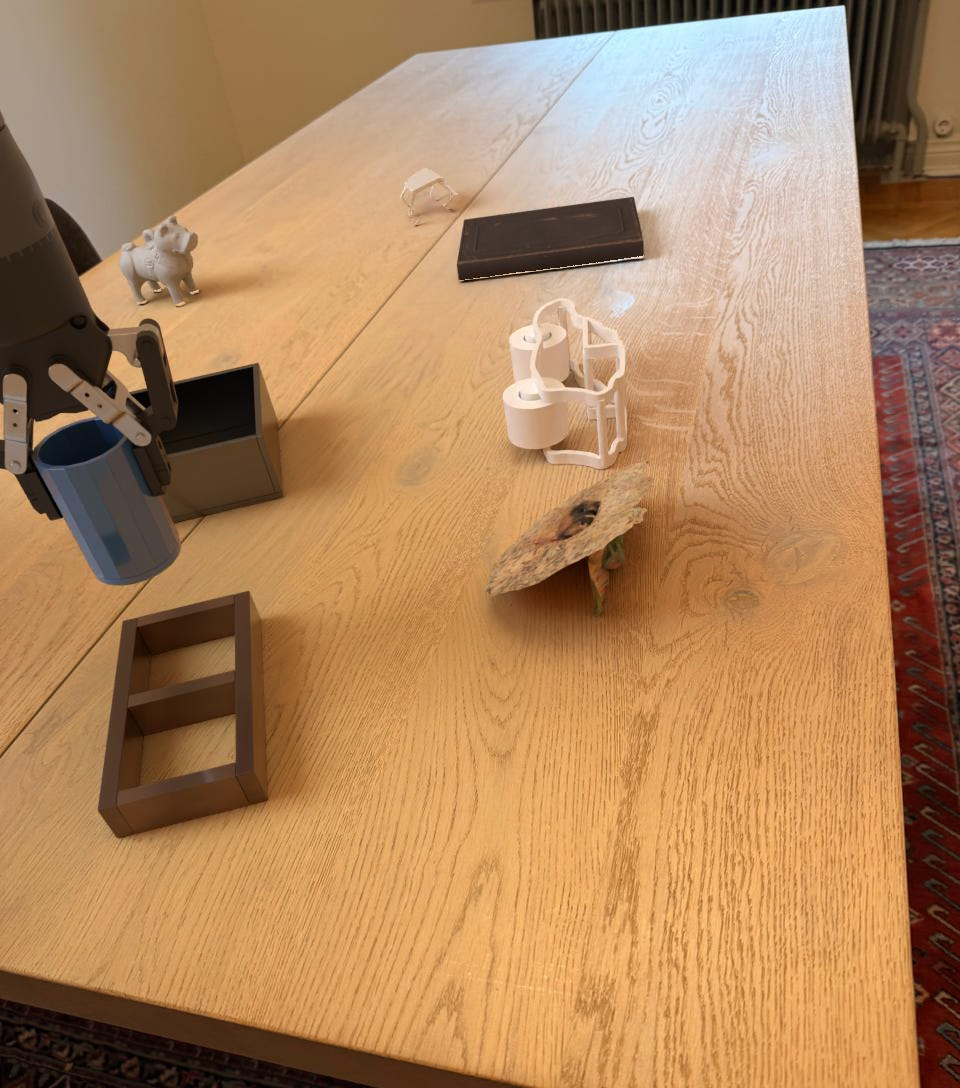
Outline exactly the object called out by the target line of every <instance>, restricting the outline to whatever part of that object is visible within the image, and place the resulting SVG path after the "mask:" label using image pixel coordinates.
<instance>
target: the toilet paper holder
mask: <svg viewBox="0 0 960 1088" xmlns="http://www.w3.org/2000/svg"><path fill="white" fill-rule="evenodd" d="M556 314H557V317H558V319H557V320H558V324H555V323H547V322H545V323H544V321H545V320H546V319H547V318H549V317H551V316H553V315H556ZM567 314H569V316H570V321H571V324H572V325H573V326H574V327H575V328H576V329H579V330H581V331H582V351H581V355H582V367H583V372H582V371H581V370H580V366H579V361H578V360H577V359H576V358H575V357H572V356H571V354H570V353H571V352H570V341H569V330H568V329H569V328H568V318H567ZM592 334H593V335H595V336H596V337H597V338H599V339H600V340H601V341H603V342H605V343H598V344H597V343H596V344H593V341H592ZM508 343H509V345H508V346H509V351H510V357H511V358H510V360H511V366H512V375H513V380H514V383H512V384H510V385H509V386H508V387H507V388H505V389H504V390H503V391H504V392H503V393H502V403H503V412H504V416H505V425H506V430H507V431H506V432H507V437H508V438H507V439H508V441H509V442H510V443H511V444H512V445H513V446H516V447H518V448H520V449H526V450H539V449H542V452H543V456H544V457H545V459H546V461H547V463H548V464H550V465H555V466H556V465H578V466H585V467H591V468H593V469H596V470H605V469H608V468H610V467H611V466H613V465H614V464H615V463H616V461H617V457H618V455H619V453H623V452H624V451H626V449H627V447H628V415H627V413H628V408H627V405H628V404H627V385H626V383H627V382H626V378H627V362H626V347H625V344H624V340H621V339H620V338H619V334H618V331H617V330H616V329H613V328H610V327H607V326H605V325H604V324H602V323H601V322H600V321H598V320H597V319H595V318H592V317H589V316H585V315H581V314H580V313H578V312H577V310H576V305H575V301H573V300H571V299H569V298H566V297H558V298H556V299H554V300H551V301H549V302H547V303H545V304H542V305H541V306H540V307H539V308H538V309H537V311H535V313H534V316H533V318H532V324H528V325H526V326H523V327H521V328H519V329H517V330H514V331H513V332H512V333H511V334H510V335H509V337H508ZM605 358H606V359H607V358H615V359H614V360H615V372H614V374H613V375H612V376H611V377H610V379H609V380H608V382H607V385H605V383H603V382H602V381H601V380H599V379H598V378H595V371H594V360H596V359H605ZM571 371H572V372H573V373H574V380H575V382H576V384H577V385H578V386H579V387H568V386H567V387H566V385H565V384H564V383H563V382H564V381H565V380H566V379H567V378H569V375H570V372H571ZM568 403H570V404H571V403H572V404H573V403H574V404H583V405H586V407H585V408H586V417H587V419H588V420H592V421H594V420H596V426H597V427H596V429H597V442H598V454H597V453H594V452H592V451H591V452H590V451H585V450H584V451H583V450H574V449H573V450H572V449H561V450H553V449H552V447H553V446H555V445H558V444H559V443H560V442H562V441H563V440H564V439H566V437H568V435H569V432H570V424H569V412H568V411H569V410H568ZM609 403H611V404H609ZM613 418H615V428H616V437H615V439H613V441H612V443H611V445H610V449H609V440H608V424H607V422H608V421H607V419H613Z"/></svg>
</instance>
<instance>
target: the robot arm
mask: <svg viewBox="0 0 960 1088" xmlns="http://www.w3.org/2000/svg"><path fill="white" fill-rule="evenodd" d="M113 351H114V352H119V353H120V354H122V355H124V356H125V358H126V361H127V362H128V363H129V365H131V366H132V367H135V368H136V369H137V368H138V369H140V368H141V371H142V375H143V379H144V382H145V383H144V384H145V386H146V388H147V391H148V394H149V398H150V402H151V406H150V407H148V408H146V409H145V408H144V407H143V406H142V405H141V404H140V403H139V402H138V401H137V400H136V399H134V398H133V397H132V396H131V395H130V393H129V392H130V391H129V389H128V388H127V387H126V385H125V383H123V382H122V381H121V380H120V379H119V378H117V377H116V375H114V374H113V373H112V372H111V371H110V370H108V369H109V365H110V361H111V358H112V355H113ZM173 382H174V380H173V375H172V371H171V367H170V362H169V359H168V355H167V349H166V346H165V342H164V338H163V332H162V329H161V325H160V324H159V322H158V321H157V320H155V319H153V318H144V319H142V320H141V321H140V322H139V324H138V326H133V327H132V326H131V327H119V328H110V327H109V326H108V325H107V324H106V323H105V322H104V321H103V320H101V319H100V317H98V315H97V314H96V312H95V311H94V309H93V308H92V306H91V303H90V300H89V298H88V296H87V293H86V291H85V289H84V286H83V285H82V281H81V280H80V278H79V274H78V273H77V270H76V268H75V265H74V264H73V261H72V259H71V257H70V255H69V252H68V250H67V247H66V245H65V242H64V240H63V238H62V236H61V234H60V232H59V229H58V226H57V224H56V222H55V220H54V218H53V215H52V212H51V211H50V208H49V205H48V204H47V202H46V199H45V197H44V195H43V192H42V189H41V187H40V185H39V182H38V181H37V178H36V176H35V174H34V172H33V170H32V168H31V166H30V164H29V163H28V161H27V159H26V157H25V154H23V152H22V151H21V149H20V147H19V145H18V143H17V142H16V140H15V138H14V136H13V135H12V132H11V130H10V128H9V126H8V124H7V123H6V121H5V117H4V115H3V113H2V111H1V109H0V404H1V405H2V406H3V410H2V411H3V414H2V415H3V416H2V418H3V419H2V420H3V421H2V426H3V427H2V429H3V430H2V436H3V439H0V470H6V471H8V472H9V473H11V474H12V475H14V477H15V478H16V480H17V482H18V484H19V485H20V487H21V490H22V491H23V493H24V495H25V497H26V498H27V500H28V501H29V503H30V506H31V507H32V509H33V510H34V511H36V512H37V513H38V514H39V515H43V514H45V515H46V516H47V519H48V520H49V521H50V522H51V521H57V520H60V519H64V518H63V516H62V514H61V513H60V511H59V509H58V507H57V505H56V503H55V501H54V500H53V498H52V496H51V494H50V492H49V490H48V488H47V486H46V485H45V483H44V481H43V479H42V477H41V475H40V473H39V472H38V470H37V468H36V466H35V464H34V462H33V460H32V458H31V457H32V454H33V451H34V426H35V425H34V424H35V423H38V422H43V421H48V420H51V419H52V418H54V417H56V416H58V415H59V414H79V413H84V412H88V411H90V413H92V414H94V415H95V417H98V418H100V419H101V420H102V421H103V422H104V423H106V424H108V425H110V424H111V425H113V426H114V427H115V428H117V429H118V430H119V431H120V432H121V433H122V434H123V435H125V436H126V437H127V438H128V439H129V440H130V441H131V442H133V443H134V445H133V452H134V454H135V456H136V458H137V461H138V463H139V465H140V467H141V470H142V472H143V474H144V476H145V478H146V481H147V483H148V485H149V487H150V490H151V492H152V494H153V496H154V497H156V496H161V495H165V494H166V489H167V485H170V483H171V471H172V465H171V463H170V461H169V459H168V456H167V453H166V451H165V449H164V446H163V444H162V442H161V439H160V437H159V434H160V433H161V432H163V431H164V430H172V429H173V428H175V426H176V424H177V412H178V400H177V396H176V391H175V387H174V383H173Z"/></svg>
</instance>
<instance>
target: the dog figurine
mask: <svg viewBox="0 0 960 1088" xmlns="http://www.w3.org/2000/svg"><path fill="white" fill-rule="evenodd" d="M142 239H143V240H142V241H144V243H145V245H136V244H135V243H134V242H130V241H129V242H125V243H123V244H122V246H121V254H120V257H119V259H118V267H119V270H120V272H121V273H122V275H123V276H124V278H125V279H126V281H127V285H128V286H129V287H130V289H131V291H132V294H133V296H134V299H135V301H136V303H137V302H140V303H141V302H143V301H145V300H147V299H146V298H145V297H144V295H143V294H142V287H143V285H144V284H145V283H146V282H147V285H148V286H149V289H151V291H152V290H153V291H154V290H158V289H160V288H162V287H161V286H160V284H162V286H164V287H166V288H167V289H168V292H169V294H170V296H171V299H172V302H173V304H174V305H175V304H179V303H181V302H183V301H184V299H183V295H182V289H181V282H183V283H184V284H185V287H186V289H187V291H188V293H189V292H193V291H196V290H198V289H199V287H197V285H196V283H195V281H194V278H193V274H192V271H193V268H194V259H193V257H194V256H192V254H191V252H193V251H194V250H195V249H196V248H197V247H198V243H199V236H198V233H196V232H195V231H189V229H188V228H187V227H186V226H182V225H180V224H179V223H178V220H177V216H176V215H174V214H172V215H169V216H168V217H167V218H166V220H165V221H163V222H161V223H160V224H159V225H157V227H156V229H155V230H154V229H151V228H146V229H144V230H143V231H142ZM159 283H160V284H159ZM153 291H152V292H153Z"/></svg>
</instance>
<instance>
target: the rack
mask: <svg viewBox="0 0 960 1088" xmlns="http://www.w3.org/2000/svg"><path fill="white" fill-rule="evenodd" d="M261 619H262V618H261V616H260V613H259V610H258V608H257V606H256V604H255V600H254V599H253V595H252V594H251V591H249V590H246V591H242V592H237V593H233V594H228V595H224V596H220V597H216V598H212V599H207V600H203V601H199V602H195V603H191V604H186V605H182V606H179V607H175V608H170V609H166V610H165V609H164V610H162V611H158V612H153V613H149V614H145V615H141V616H138V617H134V618H128V619H125V620H122V623H121V631H120V632H121V633H120V637H119V638H120V639H119V646H118V652H117V653H118V654H117V659H116V660H117V661H116V668H115V677H114V683H113V691H112V698H111V706H110V712H109V713H110V714H109V721H108V728H107V736H106V742H105V743H106V746H105V752H104V760H103V767H102V774H101V782H100V789H99V796H98V805H97V812H98V813H99V815H100V816H101V818H102V819H103V821H104V822H105V824H106V825H107V826H108V828H109V829H110V831H111V832H112V834H113V835H114V837H115V838H117V839H119V838H122V837H126V836H130V835H134V834H139V833H143V832H147V831H151V830H154V829H159V828H163V827H167V826H170V825H171V826H172V825H174V824H178V823H183V822H187V821H190V820H194V819H198V818H199V819H200V818H203V817H207V816H210V815H214V814H217V813H223V812H226V811H230V810H235V809H237V808H243V807H247V806H250V805H253V804H257V803H261V802H265V801H268V796H269V795H268V773H267V772H268V771H267V770H268V769H267V746H266V745H267V744H266V721H265V719H266V718H265V696H264V695H265V694H264V693H265V691H264V670H263V669H264V668H263V646H262V645H263V643H262V640H263V639H262V620H261ZM233 635H234V669H233V670H229V671H224V672H221V673H216V674H213V675H208V676H203V677H200V678H196V679H191V680H187V681H184V682H179V683H176V684H171V685H166V686H164V687H159V688H154V689H151V690H149V681H150V671H151V660H152V655H156V654H159V653H163V652H167V651H168V652H169V651H172V650H176V649H180V648H183V647H184V648H185V647H188V646H192V645H196V644H197V645H198V644H201V643H204V642H208V641H209V642H210V641H213V640H217V639H221V638H225V637H229V636H233ZM232 714H235V716H234V717H235V718H234V720H235V762H231V763H227V764H223V765H219V766H215V767H210V768H207V769H203V770H198V771H194V772H191V773H187V774H183V775H179V776H175V777H171V778H167V779H162V780H158V781H155V782H154V781H153V782H151V783H146V784H142V785H140V775H141V768H142V767H141V766H142V757H143V756H142V755H143V744H144V736H147V735H151V734H155V733H160V732H164V731H167V730H172V729H176V728H179V727H183V726H188V725H192V724H196V723H199V722H204V721H208V720H212V719H216V718H220V717H224V716H229V715H232Z"/></svg>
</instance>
